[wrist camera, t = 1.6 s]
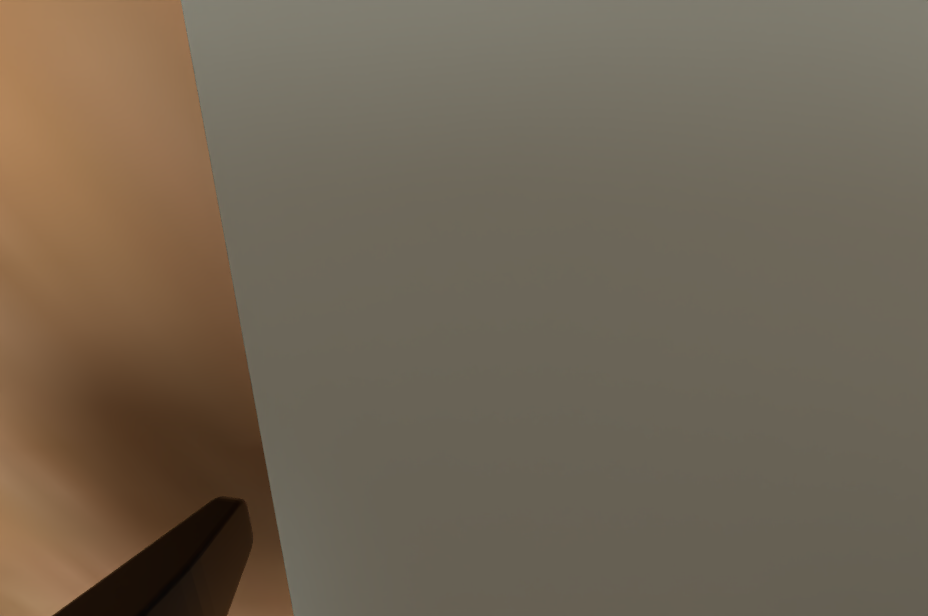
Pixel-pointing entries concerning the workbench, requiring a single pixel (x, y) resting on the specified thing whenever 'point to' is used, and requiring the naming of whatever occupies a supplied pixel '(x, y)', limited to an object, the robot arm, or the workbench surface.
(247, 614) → the workbench surface
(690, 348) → the grey rectangular block
